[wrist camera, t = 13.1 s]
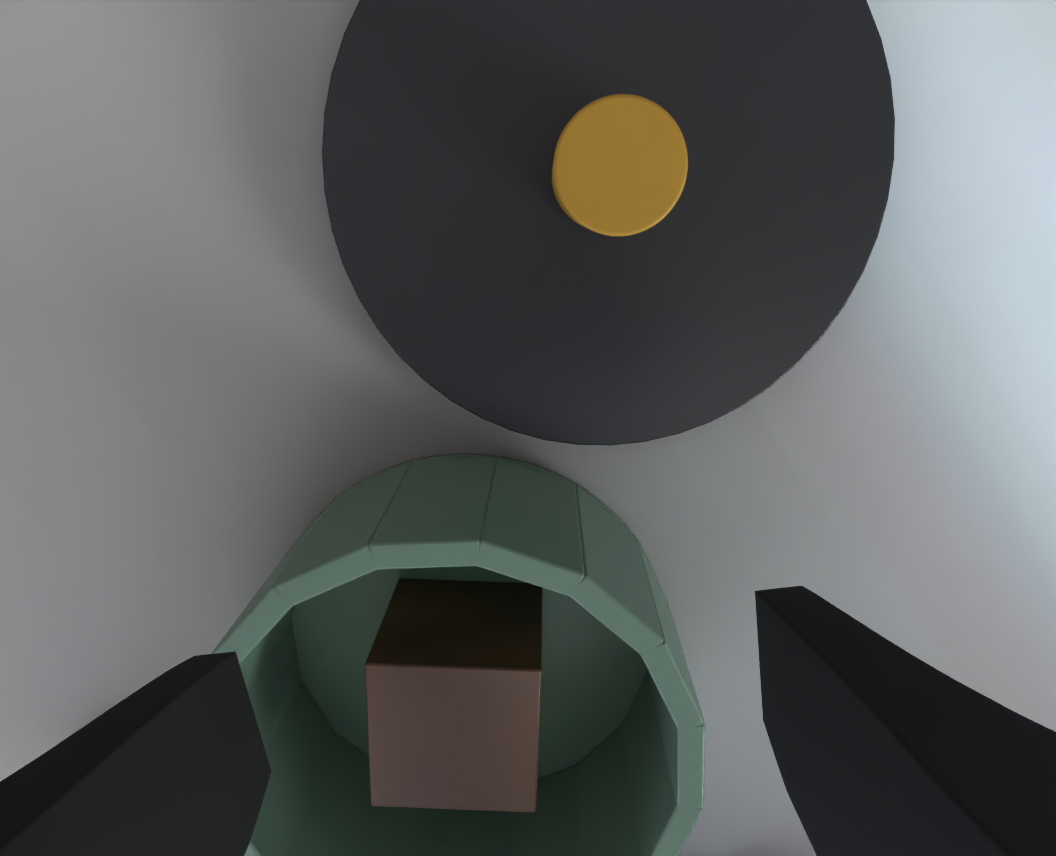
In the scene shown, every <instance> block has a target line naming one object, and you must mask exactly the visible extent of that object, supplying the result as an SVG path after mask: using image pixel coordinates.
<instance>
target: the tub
mask: <svg viewBox="0 0 1056 856" xmlns="http://www.w3.org/2000/svg"><path fill="white" fill-rule="evenodd" d="M399 579H428V580H457V581H485V582H513V583H530V584H533V585H536V586H539V587H542V588H543V597H542V676H541V703H540V731H539V759H538V786H537V810H536V812H534V813H529V812H505V811H480V810H455V809H430V808H406V807H381V806H372V805H371V797H370V774H369V752H368V730H367V708H366V686H365V662H366V660H367V657H368V655H369V652H370V650H371V647H372V645H373V642H374V640H375V637H376V635H377V632H378V630H379V627H380V625H381V622H382V620H383V617H384V615H385V612H386V610H387V607H388V605H389V602H390V600H391V597H392V595H393V592H394V590H395V587H396V585H397V582H398V580H399ZM234 651H236V654H237V657H238V661H239V664H240V667H241V671H242V674H243V677H244V681H245V684H246V687H247V691H248V694H249V698H250V701H251V704H252V708H253V711H254V714H255V718H256V721H257V724H258V728H259V731H260V734H261V738H262V741H263V744H264V748H265V751H266V754H267V758H268V761H269V764H270V768H271V775H270V778H269V782H268V785H267V789H266V792H265V795H264V799H263V802H262V806H261V809H260V813H259V816H258V819H257V822H256V825H255V828H254V831H253V834H252V837H251V840H250V843H249V846H248V848H247V850H246V853H245V855H244V856H678V855H679V853H680V851H681V849H682V847H683V846H684V844H685V842H686V840H687V838H688V836H689V834H690V832H691V831H692V829H693V827H694V825H695V823H696V821H697V819H698V817H699V815H700V814H701V812H702V808H703V805H704V758H705V723H704V718H703V715H702V712H701V709H700V705H699V702H698V699H697V696H696V692H695V689H694V686H693V683H692V679H691V676H690V673H689V670H688V667H687V663H686V660H685V657H684V654H683V650H682V647H681V644H680V641H679V637H678V634H677V631H676V628H675V624H674V621H673V618H672V615H671V611H670V608H669V605H668V602H667V600H666V597H665V595H664V593H663V591H662V589H661V587H660V585H659V583H658V581H657V578H656V576H655V573H654V571H653V568H652V566H651V563H650V561H649V560H648V558H647V556H646V554H645V553H644V551H643V549H642V547H641V545H640V543H639V541H638V539H637V538H636V537H635V535H634V534H633V533H631V532H630V530H629V529H628V528H627V527H626V525H625V524H624V523H623V522H622V521H621V520H620V519H619V518H618V517H617V516H616V515H615V514H614V513H613V512H612V511H611V510H610V509H609V508H608V507H607V506H606V505H605V504H604V503H602V502H601V501H600V500H598V499H597V498H596V497H594V496H593V495H592V494H590V493H589V492H588V491H586V490H585V489H583V488H582V487H580V486H578V485H576V484H575V483H573V482H571V481H569V480H568V479H566V478H564V477H562V476H560V475H558V474H555V473H553V472H550V471H548V470H546V469H543V468H541V467H538V466H536V465H532V464H528V463H525V462H521V461H517V460H514V459H510V458H503V457H496V456H489V455H474V454H452V455H443V456H433V457H427V458H422V459H418V460H414V461H410V462H405V463H402V464H399V465H397V466H394V467H391V468H389V469H386V470H383V471H381V472H378V473H376V474H374V475H373V476H371V477H369V478H367V479H365V480H363V481H361V482H360V483H358V484H356V485H354V486H353V487H352V488H350V489H349V490H347V491H345V492H343V493H341V494H340V495H339V496H337V497H336V498H335V499H334V500H333V501H332V502H331V503H330V504H329V506H328V507H327V508H326V509H325V510H324V511H323V512H322V513H321V514H320V515H319V516H318V517H317V518H316V520H315V521H314V522H313V524H312V525H311V526H310V527H309V528H308V529H307V530H306V531H305V533H304V534H303V535H302V536H301V537H300V538H299V539H298V540H297V542H296V543H295V544H294V545H293V546H292V547H291V548H290V550H289V551H288V552H287V554H286V555H285V556H284V558H283V559H282V560H281V562H280V563H279V564H278V566H277V567H276V568H275V570H274V571H273V572H272V574H271V575H270V576H269V578H268V579H267V580H266V582H265V583H264V584H263V586H262V587H261V588H260V589H259V591H258V592H257V593H256V595H255V596H254V597H253V599H252V600H251V601H250V603H249V604H248V605H247V607H246V608H245V609H244V611H243V612H242V613H241V615H240V616H239V617H238V619H237V620H236V621H235V623H234V624H233V625H232V627H231V628H230V629H229V631H228V632H227V633H226V635H225V636H224V637H223V639H222V640H221V641H220V643H219V644H218V645H217V647H216V648H215V649H214V651H213V652H212V654H217V653H225V652H234Z"/></svg>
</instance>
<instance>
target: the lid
mask: <svg viewBox="0 0 1056 856" xmlns="http://www.w3.org/2000/svg"><path fill="white" fill-rule="evenodd" d="M894 128H895V117H894V107H893V98H892V88H891V78H890V74H889V70H888V66H887V62H886V57H885V53H884V49H883V45H882V41H881V37H880V34H879V32H878V29H877V27H876V24H875V22H874V19H873V16H872V14H871V11H870V9H869V6H868V3H867V1H866V0H360V1H359V3H358V5H357V7H356V9H355V11H354V14H353V16H352V18H351V20H350V22H349V24H348V27H347V29H346V31H345V33H344V36H343V39H342V42H341V45H340V49H339V52H338V55H337V58H336V61H335V64H334V67H333V71H332V74H331V80H330V85H329V91H328V96H327V101H326V107H325V112H324V129H323V146H322V159H323V174H324V190H325V196H326V201H327V207H328V212H329V217H330V223H331V228H332V232H333V235H334V238H335V241H336V244H337V247H338V250H339V254H340V257H341V260H342V263H343V266H344V268H345V270H346V272H347V274H348V277H349V279H350V281H351V283H352V285H353V288H354V290H355V292H356V294H357V296H358V298H359V300H360V302H361V303H362V305H363V306H364V308H365V310H366V311H367V313H368V315H369V316H370V318H371V319H372V321H373V323H374V324H375V326H376V328H377V329H378V330H379V332H380V333H381V334H382V335H383V337H384V338H385V339H386V340H387V342H388V343H389V344H390V345H391V347H392V348H393V349H394V350H395V351H396V353H397V354H398V355H399V356H400V357H401V358H402V359H403V360H404V361H405V362H406V363H407V364H408V365H409V366H410V367H411V368H412V369H413V370H414V371H415V372H416V373H417V374H418V375H419V376H420V377H421V378H422V379H423V380H424V381H426V382H427V383H428V384H430V385H431V386H432V387H434V388H435V389H436V390H438V391H439V392H440V393H442V394H443V395H444V396H446V397H447V398H448V399H449V400H451V401H452V402H454V403H456V404H458V405H459V406H461V407H463V408H465V409H466V410H468V411H470V412H471V413H473V414H475V415H477V416H478V417H480V418H482V419H485V420H487V421H489V422H492V423H494V424H497V425H499V426H501V427H504V428H506V429H509V430H511V431H514V432H518V433H521V434H525V435H529V436H532V437H536V438H540V439H543V440H549V441H556V442H563V443H570V444H577V445H618V444H627V443H637V442H645V441H649V440H654V439H658V438H662V437H667V436H671V435H675V434H679V433H682V432H684V431H687V430H690V429H693V428H695V427H698V426H701V425H704V424H706V423H709V422H711V421H713V420H715V419H717V418H719V417H721V416H723V415H725V414H727V413H729V412H731V411H733V410H735V409H737V408H739V407H741V406H742V405H744V404H745V403H747V402H748V401H750V400H751V399H753V398H754V397H756V396H757V395H759V394H760V393H762V392H763V391H765V390H766V389H768V388H769V387H770V386H772V385H773V384H774V383H775V382H776V381H777V380H779V379H780V378H781V377H782V376H783V375H784V374H786V373H787V372H788V371H789V370H790V369H791V368H793V367H794V366H795V365H796V364H797V363H798V362H799V361H800V360H801V359H802V358H803V357H804V356H805V355H806V353H807V352H808V351H809V350H810V349H811V348H812V347H813V346H814V345H815V344H816V343H817V342H818V340H819V339H820V338H821V337H822V336H823V335H824V333H825V332H826V330H827V329H828V328H829V326H830V325H831V324H832V322H833V321H834V319H835V318H836V317H837V315H838V314H839V313H840V311H841V310H842V308H843V307H844V305H845V304H846V302H847V300H848V298H849V296H850V295H851V293H852V291H853V289H854V287H855V286H856V284H857V282H858V280H859V279H860V277H861V275H862V273H863V271H864V268H865V266H866V264H867V261H868V259H869V256H870V254H871V251H872V249H873V246H874V244H875V242H876V239H877V237H878V233H879V229H880V226H881V222H882V218H883V215H884V211H885V208H886V204H887V200H888V195H889V188H890V181H891V175H892V168H893V161H894Z"/></svg>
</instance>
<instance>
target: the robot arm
mask: <svg viewBox="0 0 1056 856" xmlns="http://www.w3.org/2000/svg"><path fill="white" fill-rule="evenodd" d="M755 598H756V614H757V629H758V645H759V661H760V677H761V692H762V708H763V721H764V724H765V727H766V730H767V733H768V736H769V739H770V742H771V745H772V748H773V751H774V754H775V758H776V760H777V763H778V766H779V769H780V772H781V775H782V778H783V781H784V784H785V787H786V790H787V792H788V794H789V797H790V799H791V801H792V803H793V805H794V808H795V810H796V812H797V814H798V816H799V818H800V821H801V823H802V825H803V827H804V829H805V831H806V833H807V836H808V838H809V840H810V842H811V844H812V846H813V848H814V851H815V853H816V855H817V856H1056V732H1055V731H1053V730H1050V729H1048V728H1046V727H1044V726H1042V725H1040V724H1038V723H1036V722H1034V721H1032V720H1030V719H1028V718H1026V717H1024V716H1022V715H1020V714H1018V713H1016V712H1014V711H1012V710H1010V709H1008V708H1006V707H1004V706H1002V705H1000V704H999V703H997V702H995V701H993V700H991V699H989V698H987V697H986V696H984V695H982V694H980V693H978V692H976V691H974V690H973V689H971V688H969V687H967V686H965V685H963V684H961V683H960V682H958V681H956V680H954V679H952V678H951V677H949V676H947V675H945V674H944V673H942V672H940V671H938V670H937V669H935V668H933V667H932V666H930V665H928V664H926V663H925V662H923V661H921V660H920V659H918V658H916V657H915V656H913V655H911V654H910V653H908V652H906V651H905V650H903V649H901V648H900V647H898V646H897V645H895V644H893V643H892V642H890V641H888V640H887V639H885V638H884V637H882V636H881V635H879V634H877V633H876V632H874V631H873V630H871V629H869V628H868V627H866V626H865V625H863V624H862V623H860V622H859V621H857V620H855V619H854V618H852V617H851V616H849V615H848V614H846V613H845V612H843V611H841V610H840V609H838V608H837V607H835V606H834V605H832V604H831V603H829V602H827V601H826V600H824V599H823V598H821V597H820V596H818V595H816V594H815V593H813V592H812V591H810V590H808V589H806V588H805V587H803V586H795V587H786V588H778V589H769V590H760V591H755ZM270 775H271V768H270V764H269V761H268V758H267V754H266V751H265V748H264V744H263V741H262V738H261V734H260V731H259V728H258V724H257V721H256V718H255V714H254V711H253V708H252V704H251V701H250V698H249V694H248V691H247V687H246V684H245V681H244V677H243V674H242V671H241V667H240V664H239V661H238V657H237V654H236V651H234V652H225V653H217V654H208V655H199V656H193V657H192V658H190V659H188V660H186V661H184V662H182V663H180V664H179V665H177V666H175V667H173V668H172V669H170V670H168V671H167V672H165V673H164V674H162V675H160V676H159V677H157V678H156V679H154V680H153V681H151V682H150V683H148V684H146V685H145V686H143V687H142V688H140V689H139V690H137V691H136V692H134V693H133V694H131V695H130V696H128V697H127V698H126V699H124V700H123V701H121V702H120V703H118V704H117V705H115V706H114V707H112V708H111V709H109V710H108V711H106V712H105V713H103V714H102V715H100V716H99V717H97V718H96V719H95V720H93V721H92V722H90V723H89V724H87V725H86V726H84V727H83V728H81V729H80V730H78V731H77V732H75V733H74V734H72V735H71V736H69V737H68V738H67V739H65V740H64V741H62V742H61V743H59V744H58V745H56V746H55V747H53V748H52V749H50V750H49V751H47V752H46V753H44V754H43V755H41V756H40V757H38V758H37V759H35V760H33V761H32V762H30V763H29V764H27V765H26V766H24V767H23V768H21V769H19V770H18V771H16V772H15V773H13V774H12V775H10V776H9V777H7V778H5V779H4V780H2V781H1V782H0V856H244V855H245V853H246V850H247V848H248V846H249V843H250V840H251V837H252V834H253V831H254V828H255V825H256V822H257V819H258V816H259V813H260V809H261V806H262V802H263V799H264V795H265V792H266V789H267V785H268V782H269V778H270Z"/></svg>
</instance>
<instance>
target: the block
mask: <svg viewBox="0 0 1056 856" xmlns="http://www.w3.org/2000/svg"><path fill="white" fill-rule="evenodd" d="M542 597H543V588H542V587H539V586H536V585H533V584H530V583H513V582H485V581H457V580H428V579H399V580H398V582H397V585H396V587H395V590H394V592H393V595H392V597H391V600H390V602H389V605H388V607H387V610H386V612H385V615H384V617H383V620H382V622H381V625H380V627H379V630H378V632H377V635H376V637H375V640H374V642H373V645H372V647H371V650H370V652H369V655H368V657H367V660H366V662H365V686H366V708H367V730H368V752H369V774H370V797H371V805H372V806H381V807H406V808H430V809H455V810H480V811H505V812H529V813H534V812H536V810H537V786H538V759H539V731H540V703H541V676H542Z"/></svg>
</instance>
